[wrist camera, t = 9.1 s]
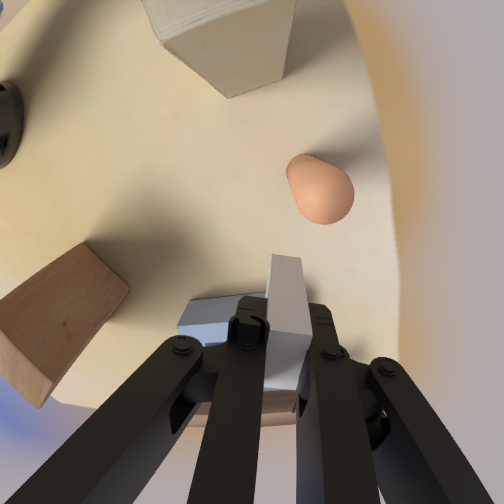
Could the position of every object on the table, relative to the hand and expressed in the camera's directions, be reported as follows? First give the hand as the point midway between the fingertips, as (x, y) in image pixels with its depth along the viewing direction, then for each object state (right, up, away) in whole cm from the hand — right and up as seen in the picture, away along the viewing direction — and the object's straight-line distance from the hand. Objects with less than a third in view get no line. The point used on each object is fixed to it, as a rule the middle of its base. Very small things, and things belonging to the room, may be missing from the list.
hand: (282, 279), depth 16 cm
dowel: (+4, +10, +16) cm, 19 cm away
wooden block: (-25, -3, +24) cm, 35 cm away
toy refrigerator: (-2, +23, +12) cm, 26 cm away
